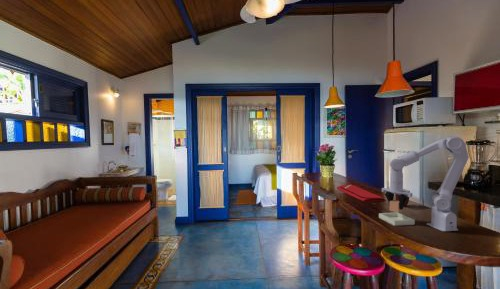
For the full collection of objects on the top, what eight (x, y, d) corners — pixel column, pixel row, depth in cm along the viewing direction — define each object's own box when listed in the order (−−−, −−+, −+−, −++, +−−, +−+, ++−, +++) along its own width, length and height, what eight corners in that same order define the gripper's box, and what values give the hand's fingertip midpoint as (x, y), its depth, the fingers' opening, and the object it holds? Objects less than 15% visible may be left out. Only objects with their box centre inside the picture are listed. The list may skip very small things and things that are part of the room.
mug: (415, 209, 151) (415, 192, 150) (401, 209, 151) (401, 192, 150) (404, 204, 161) (405, 188, 161) (392, 204, 161) (392, 188, 161)
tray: (414, 224, 125) (414, 219, 125) (394, 225, 123) (394, 220, 123) (397, 216, 137) (397, 212, 137) (378, 218, 135) (378, 213, 135)
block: (403, 211, 129) (403, 201, 129) (398, 212, 127) (398, 202, 127) (394, 209, 133) (394, 199, 133) (389, 210, 131) (389, 200, 131)
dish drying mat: (363, 202, 168) (363, 197, 168) (336, 189, 209) (336, 185, 209) (385, 201, 170) (385, 196, 170) (354, 188, 210) (354, 184, 210)
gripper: (415, 183, 125) (415, 210, 126) (387, 179, 138) (386, 203, 138) (408, 184, 122) (407, 212, 122) (379, 180, 134) (379, 205, 134)
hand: (396, 208), depth 130 cm, fingers closed on block, 4 cm apart
